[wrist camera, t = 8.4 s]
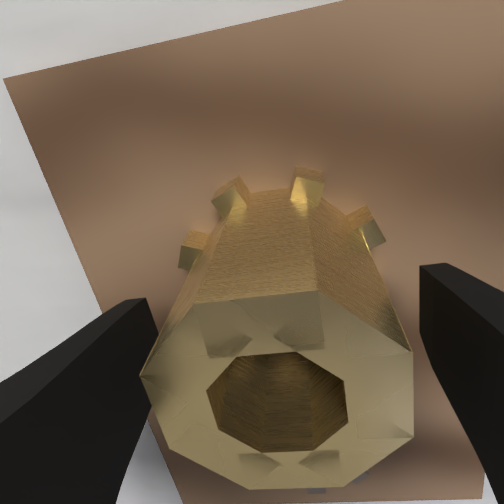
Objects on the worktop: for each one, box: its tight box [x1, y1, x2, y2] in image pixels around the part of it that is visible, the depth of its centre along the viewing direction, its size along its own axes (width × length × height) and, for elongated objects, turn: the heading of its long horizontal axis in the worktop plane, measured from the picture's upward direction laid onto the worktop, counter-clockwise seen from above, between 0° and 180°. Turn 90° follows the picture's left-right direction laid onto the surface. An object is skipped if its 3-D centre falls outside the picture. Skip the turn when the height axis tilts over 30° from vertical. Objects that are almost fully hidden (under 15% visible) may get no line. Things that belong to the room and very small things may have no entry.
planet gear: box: [139, 166, 414, 490], centre depth 10 cm, size 6×6×6 cm
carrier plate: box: [3, 0, 504, 504], centre depth 13 cm, size 20×14×4 cm
